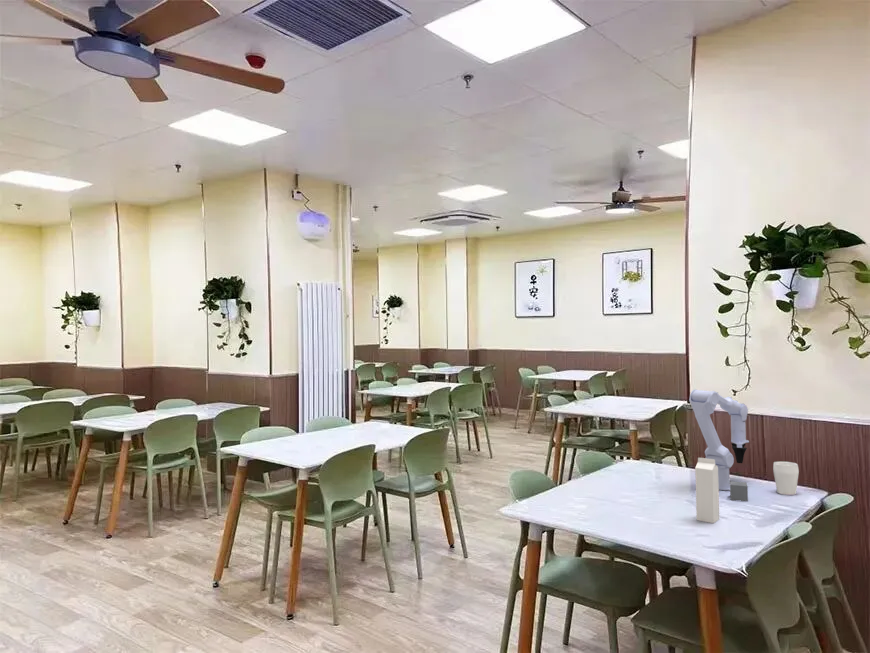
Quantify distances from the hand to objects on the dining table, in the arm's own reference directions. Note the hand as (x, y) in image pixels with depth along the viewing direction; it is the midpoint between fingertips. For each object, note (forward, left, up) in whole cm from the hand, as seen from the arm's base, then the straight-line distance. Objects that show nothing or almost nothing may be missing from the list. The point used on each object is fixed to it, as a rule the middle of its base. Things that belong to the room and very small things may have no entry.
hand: (739, 461), depth 265 cm
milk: (-13, -59, -10) cm, 61 cm away
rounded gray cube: (-2, -27, -9) cm, 29 cm away
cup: (+17, -12, -10) cm, 23 cm away
